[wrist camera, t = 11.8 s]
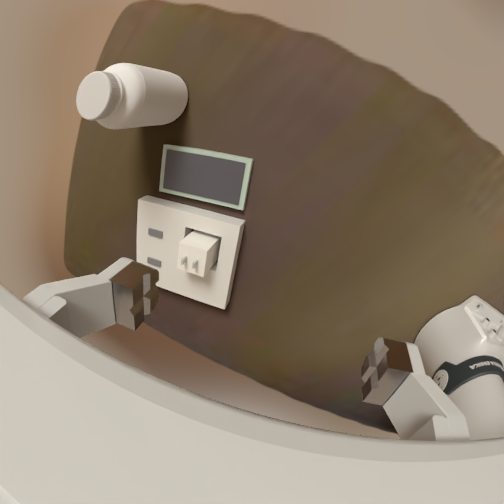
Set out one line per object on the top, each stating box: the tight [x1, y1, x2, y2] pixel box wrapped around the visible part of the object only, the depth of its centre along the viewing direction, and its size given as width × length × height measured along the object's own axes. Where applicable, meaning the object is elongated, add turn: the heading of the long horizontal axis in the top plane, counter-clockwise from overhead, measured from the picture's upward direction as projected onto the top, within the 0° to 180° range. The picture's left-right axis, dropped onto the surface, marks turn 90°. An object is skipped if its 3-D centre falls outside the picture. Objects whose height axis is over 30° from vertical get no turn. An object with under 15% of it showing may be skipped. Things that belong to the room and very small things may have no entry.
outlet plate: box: [137, 195, 245, 310], centre depth 43 cm, size 16×14×3 cm
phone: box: [159, 144, 254, 210], centre depth 38 cm, size 13×7×2 cm, turn 79°
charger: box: [177, 230, 222, 277], centre depth 40 cm, size 4×4×7 cm
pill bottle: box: [76, 63, 188, 129], centre depth 28 cm, size 8×8×15 cm
